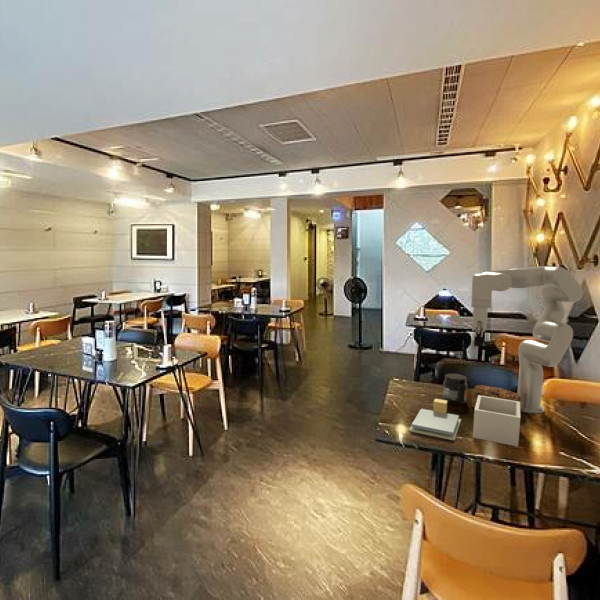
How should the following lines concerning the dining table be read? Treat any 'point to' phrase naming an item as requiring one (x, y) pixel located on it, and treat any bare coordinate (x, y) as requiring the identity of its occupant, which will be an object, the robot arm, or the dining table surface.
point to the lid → (436, 419)
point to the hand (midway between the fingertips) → (479, 343)
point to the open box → (497, 420)
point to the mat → (450, 437)
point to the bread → (493, 393)
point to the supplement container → (455, 388)
